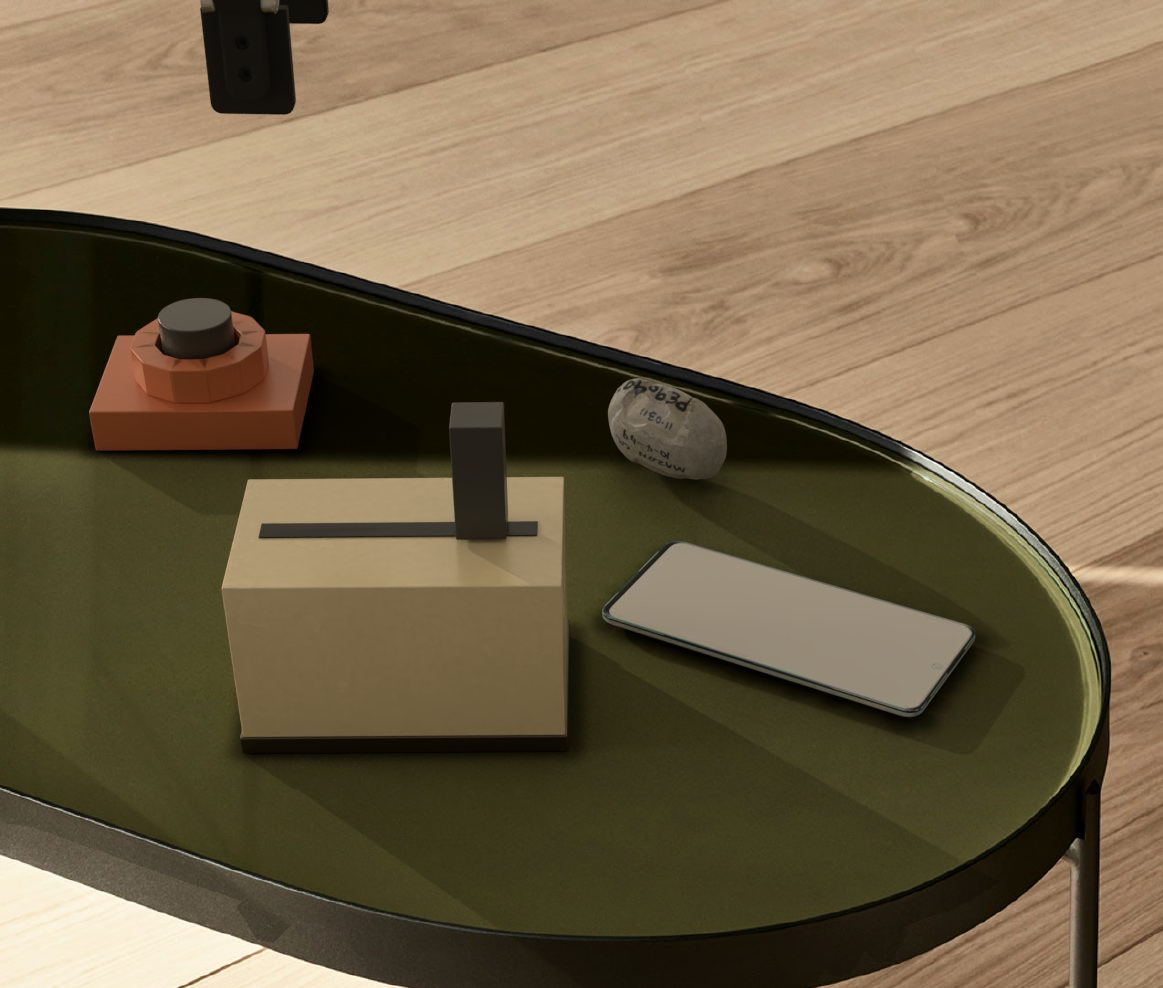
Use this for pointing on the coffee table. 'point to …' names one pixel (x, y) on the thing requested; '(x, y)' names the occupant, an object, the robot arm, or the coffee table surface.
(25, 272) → the coffee table surface
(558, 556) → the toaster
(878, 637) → the smartphone
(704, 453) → the fossil
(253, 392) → the timer box
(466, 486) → the slider
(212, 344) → the timer button
